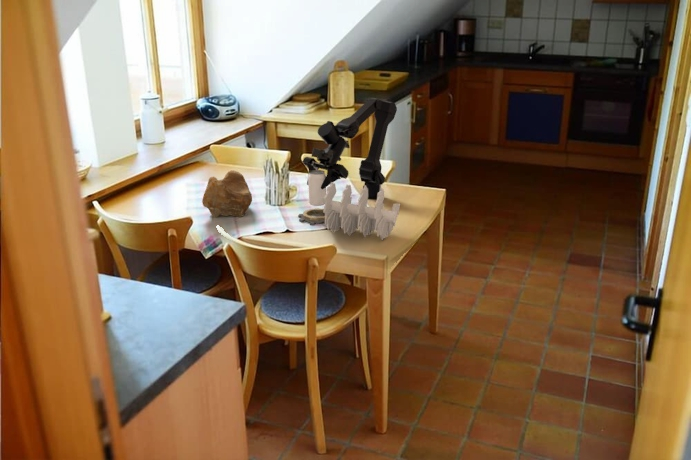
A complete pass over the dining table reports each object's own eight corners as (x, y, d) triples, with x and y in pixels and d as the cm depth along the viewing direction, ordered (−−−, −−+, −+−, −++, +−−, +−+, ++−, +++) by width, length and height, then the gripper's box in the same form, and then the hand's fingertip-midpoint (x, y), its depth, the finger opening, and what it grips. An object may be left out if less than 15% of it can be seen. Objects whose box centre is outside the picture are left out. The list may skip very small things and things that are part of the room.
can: (327, 205, 238) (326, 173, 234) (309, 206, 237) (309, 174, 233) (325, 199, 244) (324, 169, 240) (308, 200, 243) (307, 170, 239)
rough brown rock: (235, 228, 235) (237, 188, 230) (196, 218, 240) (196, 180, 235) (265, 210, 256) (267, 173, 251) (228, 201, 261) (229, 165, 256)
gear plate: (340, 213, 248) (340, 208, 247) (331, 226, 235) (331, 221, 234) (304, 210, 251) (304, 205, 250) (293, 223, 238) (293, 218, 237)
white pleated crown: (388, 254, 222) (321, 240, 229) (403, 218, 233) (338, 206, 240) (385, 216, 209) (314, 203, 216) (401, 180, 220) (332, 169, 227)
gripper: (304, 135, 241) (284, 170, 237) (343, 143, 229) (322, 180, 226) (319, 151, 249) (300, 186, 245) (357, 160, 238) (338, 196, 234)
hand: (314, 186), depth 237 cm, fingers closed on can, 6 cm apart
